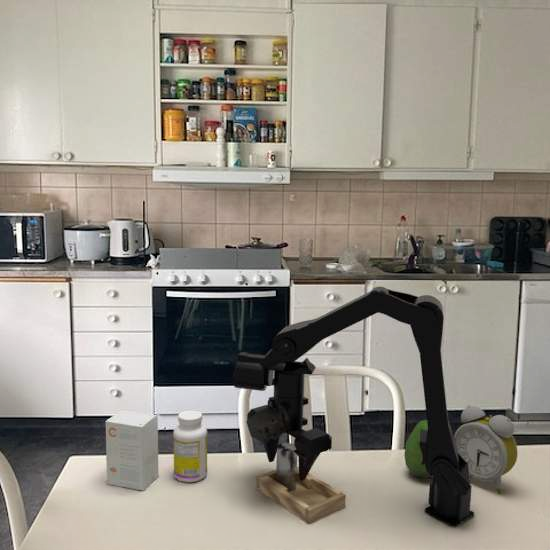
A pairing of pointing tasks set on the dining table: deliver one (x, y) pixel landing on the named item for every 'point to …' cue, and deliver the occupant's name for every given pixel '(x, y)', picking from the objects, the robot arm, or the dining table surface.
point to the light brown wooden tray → (303, 496)
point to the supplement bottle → (190, 447)
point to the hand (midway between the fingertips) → (286, 470)
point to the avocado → (415, 452)
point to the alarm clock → (486, 445)
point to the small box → (132, 449)
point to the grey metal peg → (286, 466)
